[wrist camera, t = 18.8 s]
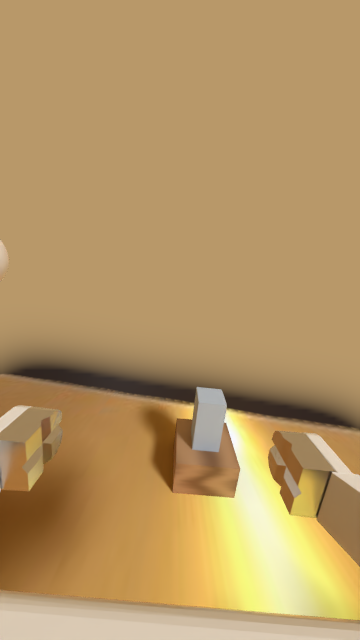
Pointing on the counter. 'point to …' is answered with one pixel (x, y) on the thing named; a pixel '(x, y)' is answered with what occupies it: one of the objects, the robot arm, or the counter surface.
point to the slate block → (208, 419)
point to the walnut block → (203, 465)
